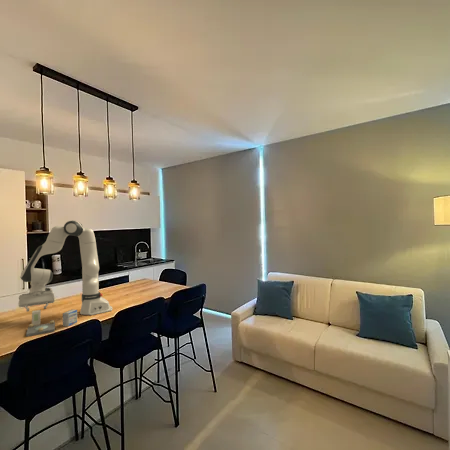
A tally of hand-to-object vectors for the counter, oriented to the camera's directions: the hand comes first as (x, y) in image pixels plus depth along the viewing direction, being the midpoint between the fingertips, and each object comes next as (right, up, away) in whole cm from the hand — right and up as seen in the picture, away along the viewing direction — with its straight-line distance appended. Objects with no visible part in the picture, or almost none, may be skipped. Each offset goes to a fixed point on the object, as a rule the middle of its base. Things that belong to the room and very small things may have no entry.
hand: (36, 309), depth 175 cm
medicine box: (+25, -9, -4) cm, 27 cm away
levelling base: (+13, -8, -14) cm, 21 cm away
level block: (+2, -8, -3) cm, 9 cm away
